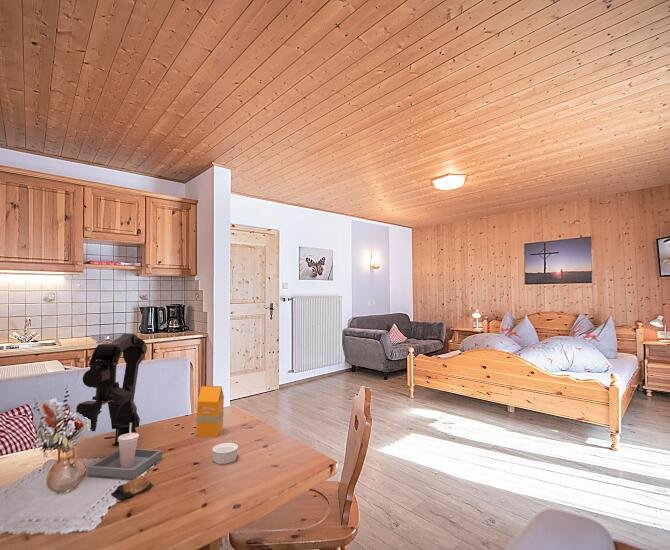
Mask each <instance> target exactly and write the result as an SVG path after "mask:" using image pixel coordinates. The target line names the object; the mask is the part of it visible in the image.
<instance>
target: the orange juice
mask: <svg viewBox="0 0 670 550" xmlns="http://www.w3.org/2000/svg"><path fill="white" fill-rule="evenodd" d="M224 401H225V396H224V392H223V387H222V386H221V385H220V386H219V385H216V386H215V385H201V387H200V390H199V395H198V399H197V408H196V411H197V412H196V430H195V432H196V434H195V435H196V436H195V437H196V438H218V437H219V435H221V433H222V432H223V430H224V429H223V428H224V426H223V425H224V404H225V402H224Z"/></svg>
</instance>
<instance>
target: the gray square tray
mask: <svg viewBox="0 0 670 550" xmlns="http://www.w3.org/2000/svg"><path fill="white" fill-rule="evenodd" d="M162 459H163V450H161V449H147V448H136V452H135V458H134V463H133V465H132V466H131V467H127V468H122V467H121V463H120V451H119V449H117V450H115V451H114V452H112V453H110V454H109V455H107V456H105V457H103V458H101V459H100V460H98V461H95V462H94V463H93V464H91V465H88V466H87V477H90V478H101V479H110V480H111V479H114V480H124V481H125V480H128V481H130V480H132V479H135V478H138V477H140V476H141V475H142V474H143V473H145V472H146V471H147V470H149V469H150V468H152V467H153V466H154V465H156V464H157V463H159V462H160V461H161V460H162Z"/></svg>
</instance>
